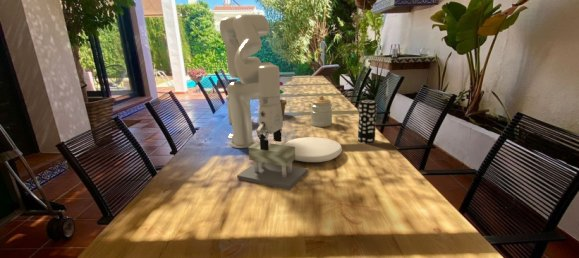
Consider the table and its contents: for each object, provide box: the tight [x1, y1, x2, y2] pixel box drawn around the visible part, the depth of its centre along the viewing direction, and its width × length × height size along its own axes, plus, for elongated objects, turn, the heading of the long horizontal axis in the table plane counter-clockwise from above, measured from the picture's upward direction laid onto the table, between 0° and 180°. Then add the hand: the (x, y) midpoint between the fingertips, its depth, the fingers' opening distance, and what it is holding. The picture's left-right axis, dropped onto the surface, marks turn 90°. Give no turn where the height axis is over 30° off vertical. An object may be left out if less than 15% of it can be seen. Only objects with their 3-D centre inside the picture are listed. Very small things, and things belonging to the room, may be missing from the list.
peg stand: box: [236, 160, 309, 191], centre depth 115 cm, size 22×16×6 cm
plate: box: [282, 136, 343, 163], centre depth 135 cm, size 28×6×27 cm
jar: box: [310, 95, 333, 128], centre depth 182 cm, size 13×13×18 cm
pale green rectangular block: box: [248, 141, 296, 166], centre depth 114 cm, size 16×7×5 cm, turn 64°
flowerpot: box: [279, 74, 288, 118], centre depth 203 cm, size 14×14×30 cm
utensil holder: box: [225, 94, 251, 125], centre depth 192 cm, size 15×15×18 cm
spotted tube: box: [357, 99, 378, 144], centre depth 149 cm, size 8×8×20 cm
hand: (271, 145), depth 113 cm, fingers open, 9 cm apart
